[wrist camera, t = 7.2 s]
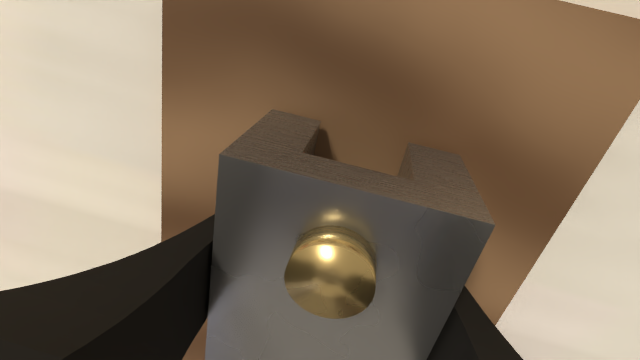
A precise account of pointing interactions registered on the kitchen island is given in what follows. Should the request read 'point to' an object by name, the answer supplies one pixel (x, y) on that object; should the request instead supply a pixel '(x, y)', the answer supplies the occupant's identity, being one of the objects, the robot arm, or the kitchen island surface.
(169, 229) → the board
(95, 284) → the robot arm
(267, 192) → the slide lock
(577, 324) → the kitchen island surface
